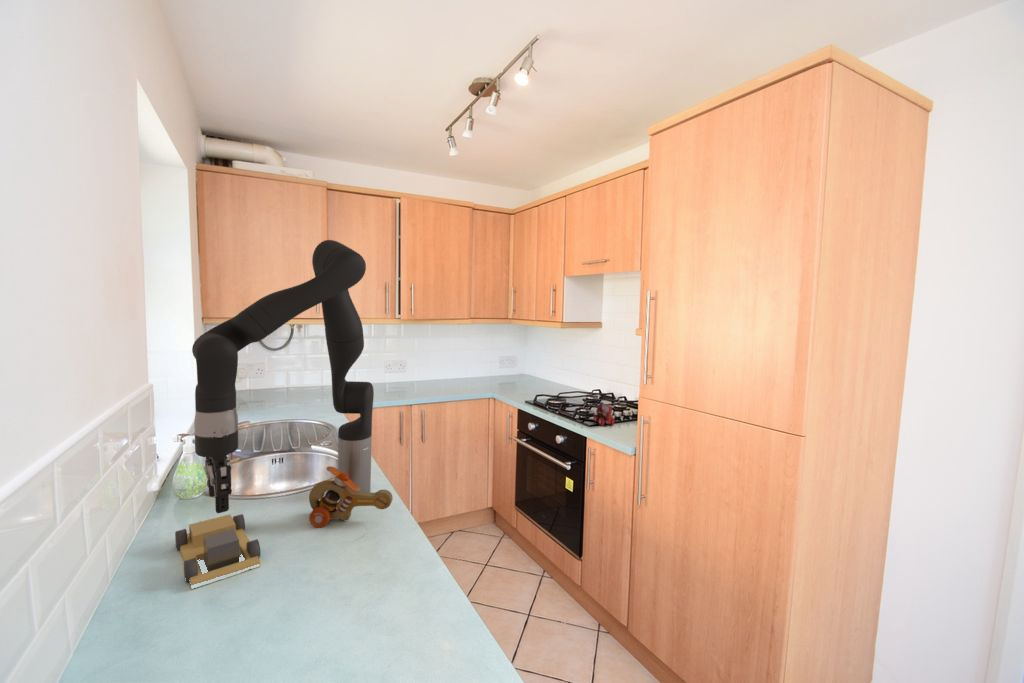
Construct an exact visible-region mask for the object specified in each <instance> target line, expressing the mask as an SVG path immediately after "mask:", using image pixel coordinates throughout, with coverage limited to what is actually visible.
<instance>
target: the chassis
mask: <svg viewBox="0 0 1024 683" xmlns="http://www.w3.org/2000/svg"><path fill="white" fill-rule="evenodd" d="M188 527H189V528H188V529H189V530H188V531H189V532H187V529H186V528H183V529H180V530H176V531H175V532H174V534H175V539H174V540H175V547H176V548H177V549H176V550H177V551H178V550H179V551H180V555H182V556H181V558H183V559H182V562H183V561H184V562H183V572H184V579H185V578H186V581H188V580H190V583H191V585H194V584H197V583H201V582H204V581H208V580H211V579H214V578H216V577H220V576H223V575H227V574H230V573H233V572H237V571H239V570H243V569H245V568H248V567H251V566H254V565H257V564H260V565H261V559H260V558H261V546H260V541H259V539H257V538H256V539H252V540H250V539H249V538H248V535H247V533H246V532H245V531H246V523H245V517H244V514H243V513H241V514H237V515H234V516H232V515H231V513H230V514H226V515H221V516H218V517H214V518H209V519H206V520H202V521H199V522H195V523H190V524H188ZM231 529H234V531H235V533H236V535H237V537H238V539H239V557H241V556H240V555H241V554H242V555H243V557H244V558H245V560H244V561H241V562H238V563H234V564H231V565H228V566H225V567H222V568H219V569H216V570H213V571H210V572H207V573H204V574H202V572H201V569H200V566H199V564H198V561H197V560H199V559H200V560H204V537H205V536H209V535H213V534H216V533H220V532H224V531H227V530H231ZM200 560H199V561H200ZM186 581H185V582H186ZM188 582H189V581H188ZM190 583H189V584H190Z"/></svg>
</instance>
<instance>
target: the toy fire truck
mask: <svg viewBox="0 0 1024 683" xmlns="http://www.w3.org/2000/svg"><path fill="white" fill-rule="evenodd" d="M612 410H613V407H612V405H608V404H607V403H604V402H603V401H600V402H599V404H598V405H597V408H596V412H595V414H594V415H593V422H594V421H595V422H598V423H599V424H598V423H597V424H598V425H599V426H600V427H604V425H609V426H614V425H615V419H614V417H613V416H612ZM595 422H594V423H595Z"/></svg>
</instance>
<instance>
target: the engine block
mask: <svg viewBox="0 0 1024 683" xmlns="http://www.w3.org/2000/svg"><path fill="white" fill-rule="evenodd" d="M204 562H205V565H206V567H207V570H208V572H210V571H213V570H216V569H219V568H222V567H225V566H228V565H231V564H234V563H238V562H239V539H238V537H237V535H236V533H235V531H234V529H231V530H227V531H224V532H220V533H216V534H213V535H209V536H205V537H204Z"/></svg>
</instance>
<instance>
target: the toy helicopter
mask: <svg viewBox="0 0 1024 683" xmlns="http://www.w3.org/2000/svg"><path fill="white" fill-rule="evenodd" d="M326 470H327V472H329V473H331V475H333V476H334V479H333V480H332V479H331V480H330V479H329V480H328V479H327V480H323V481H320V482H319V481H318V483H316V484H315V485H314V486H313V487H312V488H311V490H310V492H309V496H308V500H309V501H308V502H309V505H310V507H311V509H312V511H311V512H310V514H309V516H308V521H309V524H310V525H311V526H313V527H314V528H324V527H325V526H326V525H327V524H329V522H330V520H335V519H340V521H342V520H347V521H349V520H350V518H351V516H352V511H353V509H354V508H356V507H370V506H371V507H376V509H379V510H386V509H388V508H389V507H390V506H391V504H392V502H393V498H394V496H393V494H392V492H390V490H388V489H379V490H377V491H376V492H370V493H369V492H355V491H359V490H360V487H359V486H357V485H356V484H355V483H354V482H353V481H351V480H350V479H349V478H348V474H347V473H342V472H341V471H339V470H338V468H336V467H335V466H331V465H329V466H326ZM353 490H354V491H353Z"/></svg>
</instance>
